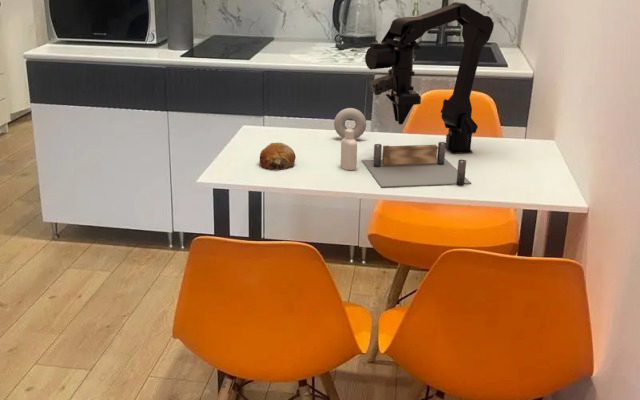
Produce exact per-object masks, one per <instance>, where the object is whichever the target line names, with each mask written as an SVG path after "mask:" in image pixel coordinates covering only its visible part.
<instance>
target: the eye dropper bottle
mask: <svg viewBox="0 0 640 400" xmlns="http://www.w3.org/2000/svg"><path fill="white" fill-rule="evenodd" d="M347 128H348V129H346V130H345V138H342V139H341V142H340V167H341V168H342V169H344V170H347V171H355V170H357V167H358V166H357V163H358V162H357V161H358V160H357V159H358V142H357V141H356V139H354V130H353V128H352V124H348V126H347Z"/></svg>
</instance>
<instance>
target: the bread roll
mask: <svg viewBox="0 0 640 400" xmlns="http://www.w3.org/2000/svg"><path fill="white" fill-rule="evenodd" d="M296 159H297V158H296V153H295V151H294V150H293V148H292V147H291V146H289V145H288V144H286V143H283V142H271V143H269V144H268V145H266V147H264V149H261V152H260V154H259V164H260V166H261V167H262V168H264V169H265V170H266V169H267V170H268V169H269V170H276V171H278V170H286V169H289V168H292V167H293V166H295V163H296Z"/></svg>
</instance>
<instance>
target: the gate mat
mask: <svg viewBox="0 0 640 400" xmlns="http://www.w3.org/2000/svg"><path fill="white" fill-rule="evenodd" d="M382 160H383V158H381V167H373V162H374V159H362V160H361V162H362V163H363V165H364V166H365V168H366V169H367V170H368V171H369V173H370V174H371V176H372V177H373V179H374V180H375V181H376V183H377V184H378V185H379V187H380V188H381V189H385V188H386V189H387V188H388V189H389V188H409V187H410V188H411V187H413V188H415V187H436V186H438V187H439V186H458V185H457V183H456V182H457V171H458V168H456V167H455V166H454V165H453V164H452V163H451V162H450V161H448V159H446V158H445V159H444V165H438V164H437V158H436V163H417V164H389V165H383V163H382ZM464 185H472V182H471V181H470V180H469V179H468V178H467V177H466V176H465V181H464Z"/></svg>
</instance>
